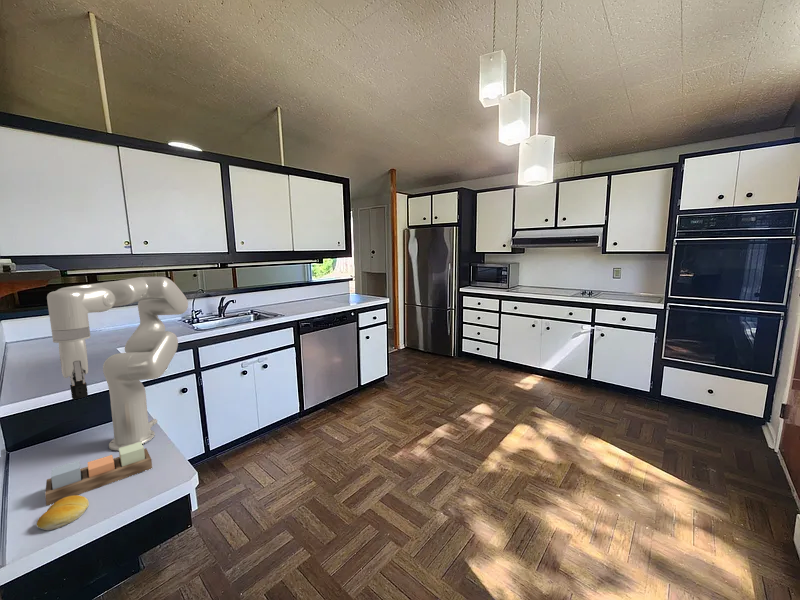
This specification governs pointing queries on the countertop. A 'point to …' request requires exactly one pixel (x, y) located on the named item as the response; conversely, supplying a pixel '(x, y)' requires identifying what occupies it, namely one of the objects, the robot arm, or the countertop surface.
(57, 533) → the countertop surface
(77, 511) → the bread roll
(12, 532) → the countertop surface
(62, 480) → the slate button
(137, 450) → the sage button
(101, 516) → the countertop surface
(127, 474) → the wooden tray
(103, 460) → the orange block
